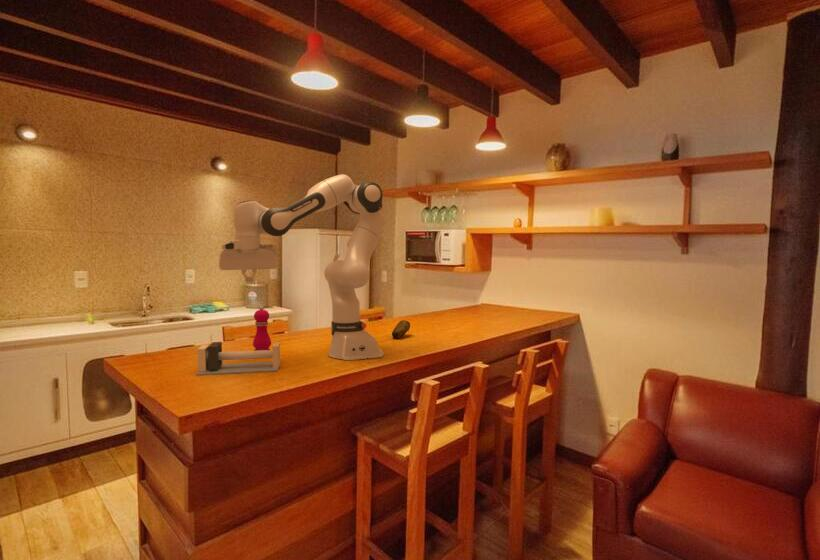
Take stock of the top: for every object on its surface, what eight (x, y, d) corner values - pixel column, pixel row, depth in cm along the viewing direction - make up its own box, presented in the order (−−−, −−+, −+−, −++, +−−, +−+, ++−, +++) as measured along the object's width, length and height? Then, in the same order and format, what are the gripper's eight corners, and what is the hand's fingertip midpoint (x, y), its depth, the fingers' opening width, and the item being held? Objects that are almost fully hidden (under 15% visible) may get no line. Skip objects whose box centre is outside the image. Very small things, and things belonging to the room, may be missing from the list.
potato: (385, 337, 216) (385, 321, 216) (403, 334, 226) (403, 318, 225) (396, 340, 211) (396, 323, 210) (415, 336, 220) (415, 320, 219)
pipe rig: (280, 362, 168) (280, 340, 167) (277, 371, 156) (277, 347, 155) (204, 366, 162) (204, 343, 161) (196, 375, 150) (195, 350, 150)
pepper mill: (265, 356, 177) (264, 307, 176) (249, 355, 179) (248, 306, 177) (274, 352, 184) (273, 305, 183) (258, 351, 186) (258, 304, 184)
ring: (222, 363, 161) (221, 341, 161) (217, 369, 154) (216, 346, 153) (213, 364, 161) (212, 342, 160) (208, 370, 153) (207, 347, 152)
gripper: (277, 244, 168) (279, 280, 169) (220, 245, 164) (222, 281, 165) (276, 244, 162) (277, 281, 163) (217, 245, 157) (219, 283, 159)
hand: (249, 281), depth 164 cm, fingers closed
